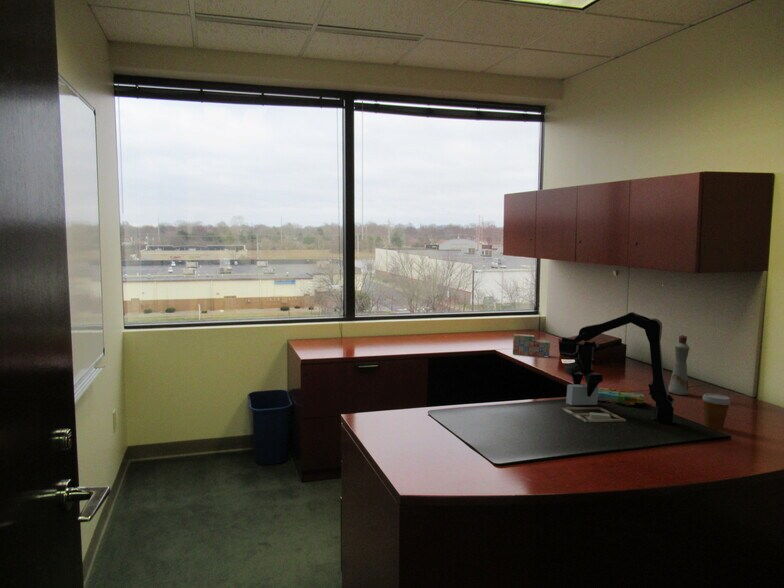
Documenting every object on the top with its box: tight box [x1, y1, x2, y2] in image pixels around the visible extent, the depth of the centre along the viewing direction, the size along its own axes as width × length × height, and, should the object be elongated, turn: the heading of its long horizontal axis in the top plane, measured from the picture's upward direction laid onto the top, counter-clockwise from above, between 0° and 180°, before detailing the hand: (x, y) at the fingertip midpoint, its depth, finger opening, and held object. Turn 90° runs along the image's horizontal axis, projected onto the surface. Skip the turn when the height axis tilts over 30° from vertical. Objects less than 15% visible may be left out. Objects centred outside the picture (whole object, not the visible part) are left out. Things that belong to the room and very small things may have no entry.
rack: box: [561, 406, 627, 423], centre depth 226 cm, size 17×17×2 cm
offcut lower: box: [583, 416, 613, 420], centre depth 222 cm, size 4×10×2 cm, turn 94°
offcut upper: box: [589, 412, 611, 419], centre depth 222 cm, size 3×7×2 cm, turn 80°
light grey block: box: [565, 383, 600, 406], centre depth 242 cm, size 4×12×9 cm, turn 104°
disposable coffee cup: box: [701, 392, 731, 431], centre depth 222 cm, size 10×10×12 cm
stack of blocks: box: [512, 333, 551, 357], centre depth 355 cm, size 21×6×12 cm, turn 81°
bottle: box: [667, 334, 690, 396], centre depth 274 cm, size 9×9×28 cm
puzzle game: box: [598, 386, 645, 406], centre depth 254 cm, size 12×5×20 cm
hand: (582, 393), depth 242 cm, fingers open, 9 cm apart
